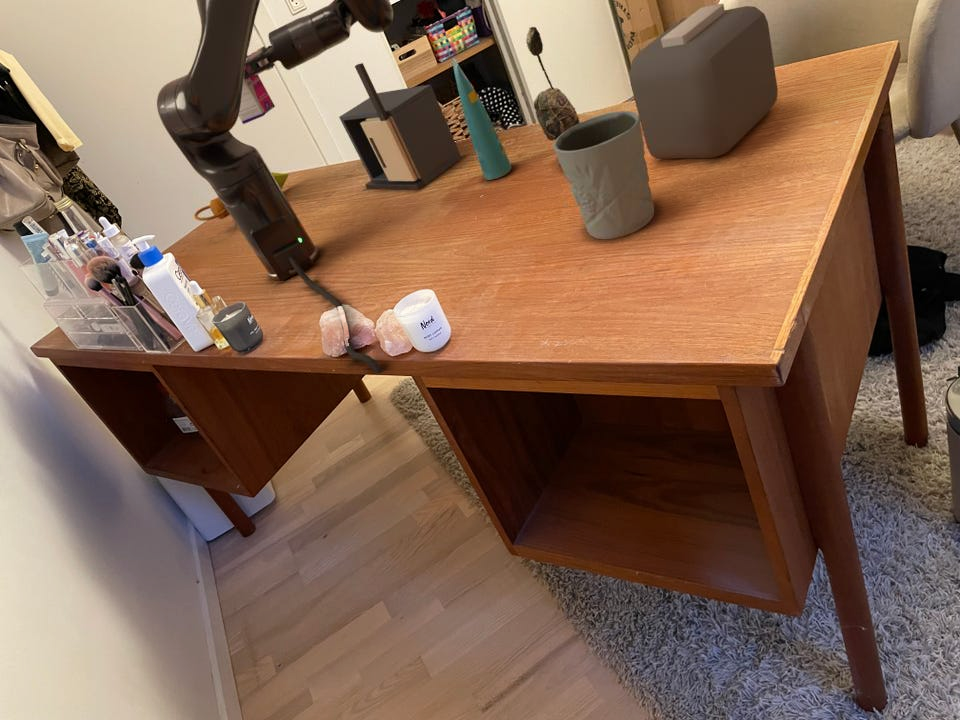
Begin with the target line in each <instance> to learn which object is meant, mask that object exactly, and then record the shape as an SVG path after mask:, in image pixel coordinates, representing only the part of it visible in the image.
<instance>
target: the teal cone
mask: <svg viewBox="0 0 960 720" xmlns="http://www.w3.org/2000/svg"><path fill="white" fill-rule="evenodd" d="M452 62H453V64H452V66H453V73H454V79H455V82H456V87H457V90H458V91H457V92H458V95H459V100H460V103H461V108H462V112H463V116H464V119H465V122H466V123H465V124H466V126H467V129H468V133H469V136H470V139H471V142H472V146H473V148H474V152H475V155H476V158H477V160H478V163H479V166H480V169H481V171H482V175H483V177H484V180H486V181H492V180H496V179H499V178H501V177H504V176H505V175H507V174H508V173H510V171H511V170H512V164H511V163H510V160H509V158H508V156H507V153H506V150H505V148H504V146H503V144H502V142H501V139H500V137H499V135H498V133H497V131H496V128H495V126H494V125H493V124H494V123H493V122H492V120H491V118H490V116H489V113H488V112H487V110H486V108H485V106H484V105H483V102H482V100H481V99H480V97H479V95H478V93H477V92H476V90H475V89H474V87H473V85H472V84H471V82H470V81H469V79H468V78H467V76H466V75H465V72H464V71H463V69H462V68H461V67H460V65H459V64H458V62H457V60H456V58H455V57H454V56H452Z"/></svg>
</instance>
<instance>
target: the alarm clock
mask: <svg viewBox="0 0 960 720" xmlns="http://www.w3.org/2000/svg"><path fill="white" fill-rule="evenodd" d="M774 61H775V60H774V55H773V49H772V42H771V34H770V27H769V22H768V19H767V17H766V15H765V13H764V12H763V11H761V10H760V9H759V8H758V7H756V6H753V5H752V6H749V5H745V6H739V7H735V8H729V9H725V4H724V3H717V4H711V5H707V6H703V7H700V8H698V10H696V11H695V12H693V14H691V15H689V16H688V17H684V18H681V19H679V21H677V22H676V23H675V24H673V25H672V26H671V27H669V28H668V29H666V30H665V31H664V32H663V33H662V34H660V35H659V36H657V38H655V39H654V40H653V41H651V42H650V43H648V44H647V45H646V46H645V47H643V48H642V49H641V50H640V51H638V52H637V53H636V55H635V56H634V57H633V59H632V61H631V65H630V69H629V81H630V87H631V92H632V95H633V99H634V101H635V102H634V103H635V107H636V110H637V115H638V116H639V118H640V124H641V130H642V134H643V136H644V141H645V144H646V148H647V150H648V152H649V154H650V155H651V157H653V158H655V159H657V160H662V159H663V160H664V159H665V160H666V159H667V160H668V159H709V158H711V159H712V158H716V157H719V156H722V155H725V154H726V153H728V152H730V151H731V150H732V149H733V148H734V147H735V145H737V144H738V143H739V142H740V141H741V140H742V139H743V138H744V137H745V136H747V134H748V133H749V132H750V131H751V130H752V129H753V128H754V127H755V126H756V125H757V124H759V122H761V120H762V119H763V118H764V117H765V116H767V114H768V113H769V112H770V111H771V110H772V108H773V107H774V106H775V104H776V102H777V100H778V91H779V88H778V83H777V82H778V81H777V77H776V76H777V75H776V69H775V62H774Z"/></svg>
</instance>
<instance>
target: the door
mask: <svg viewBox="0 0 960 720" xmlns="http://www.w3.org/2000/svg"><path fill="white" fill-rule="evenodd" d="M354 68H355V70H356V72H357V75H358V76H359V79H360V80H361V83H362V85H363V87H364V89H365V91H366V93H367V95H368V98H370V100H371V102H372V104H373V106H374V108H375V110H376V112H377V114H378V116H379V118H380V120H371V121H363V122H361V123H360V124H361V126H362V128H363V130H364V132H365V134H366V136H367V138H368V140H369V142H370V144H371V146H372V148H373V150H374V152H375V154H376V156H377V158H378V160H379V162H380V164H381V166H382V168H383V170H384V172H385V174H386V176H387V178H388V180H389V181H416V180H417V177H416V175H415V173H414V171H413V169H412V167H411V165H410V163H409V160H408V158H407V156H406V154H405V152H404V150H403V148H402V146H401V143H400V141H399V139H398V137H397V135H396V133H395V131H394V129H393V126H392V124H391V122H390V120H389V118H388V116H387V114H386V111H385V109H384V107H383V105H382V103H381V101H380V99H379V97H378V94H377V93H378V92H377V91H376V88H375V86H374V84H373V82H372V79H371V78H370V76H369V73H368V70H367V69H366V67H365V65H364V62H363V63H362V62H361V63H357V64H356V65H355V66H354Z"/></svg>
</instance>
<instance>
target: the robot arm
mask: <svg viewBox="0 0 960 720" xmlns="http://www.w3.org/2000/svg"><path fill="white" fill-rule="evenodd" d="M260 2H261V0H196V6H197V11H198V14H199V19H200V26H201V29H200V37H199V44H198V46H197V51H196V53H195V54H196V55H195V57H194V60H193V63H192V65H191V68H190V70H189V71H188V73H187V74H186V75H183V76H180V77H178V78H176V79H173V80H171V81H169V82H167V83H165V85H163V86H162V88H161V89H160V90H159V92H158V94H157V98H156V107H157V113H158V116H159V118H160V121H161V123H162V125H163V127H164V129H165V130H166V132H167V134H168V135H169V136H170V138H171V139H172V141H173V142H174V144H175V145H176V146H177V148H178V149H179V150H180V152H181V154H182V155H183V156H184V157H185V159H186V160H187V162H188V163H189V164H190V166H191V167H192V168H193V170H194V171H195V172H196V174H198V175H199V176H200V177H201V178H203V179H205V181H206V182H208V184H209V186H211V188H212V189H213V191H214V192H215V194H216V195H217V198H218V197H219V198H220V200H221V201H222V203H223V204H224V206H225V208H226V209H227V211H228V212H229V214H230V215H229V216H230V217H231V218H232V220H233V221H234V223H235V224H236V226H237V228H238V229H239V231H240V232H241V234H242V235H243V237H244V238H245V240H246V241H247V243H248V244H249V246H250V247H251V249H252V251H253V252H254V254H255V255H256V257H257V258H258V260H259V261H260V263H261V265H262V266H263V267H264V269H265V270H266V272H267V274H268V276H269V278H270V279H271V280H274V281H280V282H283V281H285V280H287V279H289V278H291V277H293V276H295V275H296V274H298V275H299V276H300V278H301V279H302V280H303V281H304V282H305V283H306V284H307V285H308V286H309V288H311V289H312V290H313V291H315V292H317V293H318V294H320V295H321V296H322V297H324V298H325V299H327V300H328V301H329V302H331V303H332V304H333V305H334V306H335V308H336V309H337V307H338V306H343V304H342V303H341V302H340V300H339V299H338V298H337V297H336V296H334V295H333V294H331V293H330V292H328V291H327V290H326V289H325V288H323V287H322V286H319V285H318V284H316V283H315V282H314V281H313V280H312V279H311V278H310V277H309V276H308V275H307V274H306V272H305V271H304V270H306V269H308V268H309V267H311V266H313V265H314V261H315V260H316V259H317V258H318V256H319V254H320V251H319V249H318V247H317V246H316V245H315V243H314V242H313V241H312V239H311V237H310V236H309V234H308V232H307V231H306V229H305V227H304V226H303V224H302V222H301V220H300V219H299V217H298V215H297V213H296V212H295V210H294V209H293V206H291V204H290V202H289V200H288V198H287V197H286V195H285V193H284V192H283V189H282V190H281V189H280V187H279V185H278V183H277V182H276V180H275V178H274V177H273V175H272V173H273V172H272V171H271V170H270V168H269V166H268V165H267V163H266V162H265V159H264V158H263V156H262V155H261V153H260V152H259V150H258V149H257V148H256V147H255V146H252V145H250V144H247V143H244V142H242V141H240V140H239V139H237V138H236V137H235V136H234V135H233V134H232V133H231V130H232V129H233V128H234V127H235V125H236V123H237V121H238V119H239V112H240V107H241V99H242V90H243V81H244V79H248V78H249V77H251V76H255V75H258V76H259V75H260V74H261V73H264V72H265V71H266V72H267V71H270V70H272V69H274V67H275V66H276V64H275V63H276V62H280V64H281V66H282V67H283V68H284V69H285V70H286V71H291V70H292V69H294V68H296V67H298V66H300V65H303V64H305V63H306V62H309V61H310V60H313V59H315V58H317V57H319V56H321V54H323V53H325V52H326V51H329V50H330V49H331V48H334V47H336V46H338V45H340V44H342V43H344V42H346V41H347V40H348V39H349V38H350V36H351V29H352V27H353V26H354V25H355V24H356V23H359V25H361V26H362V28H364V30H367V31H368V32H370V33H375V34H379V33H383V32H385V31H387V30H388V29H389V28H390V27H391V25H392V23H393V19H394V10H393V6H392V4H391V1H390V0H332V2H330V3H329V4H328V5H326V6H323V7H321V8H320V9H318V10H316V11H314V12H311V13H310V14H307V15H305V16H300V17H298V18H295V19H294V20H292V21H290V22H288V23H286V24H284V25H282V26H280V27H278V28H276V29H274V30H271V31H270V32H268V35H267V36H268V41H269V44H270V45H268V46H267V47H266V46H265V45H264V46H262V47H260V48H258V49H257V50H256V51H253V52H251V53H250V54H248V51H249V48H250V43H251V40H252V36H253V31H254V30H253V29H254V25H255V21H256V17H257V13H258V9H259V6H260V4H261V3H260ZM247 55H248V57H247ZM246 57H247V58H246ZM245 66H248V68H249V70H250V72H249V73H248V72H247V71H246V69H245ZM271 172H272V173H271ZM351 338H352V337H350V338H349V339H348V343H349V346H347V347H346V345H345V341H344V340H343V344H344V348H345V351H346V353H347V355H348V356H349V357H350V358H351V359H352V360H355V361H359V362H363V363H365V364H366V365H368V366H369V367H370V368H371V369H372V371H374V372H375V373H374V374H377V375H378V374H379V375H380V374H381V373H383V368H382V367H381V366H380V364H379V363H378V362H377V361H376V360H375V358H374V359H373V358H372V357H371V356H370V355H367V354H365V353H359V352H356V350H355V349H354V347H353V345H352V339H351Z"/></svg>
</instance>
